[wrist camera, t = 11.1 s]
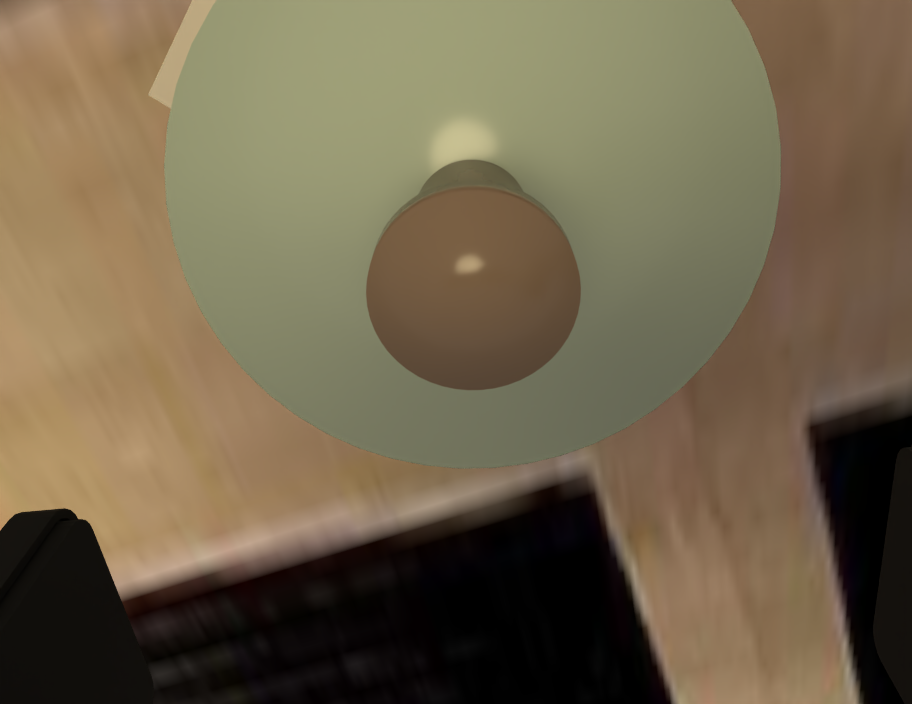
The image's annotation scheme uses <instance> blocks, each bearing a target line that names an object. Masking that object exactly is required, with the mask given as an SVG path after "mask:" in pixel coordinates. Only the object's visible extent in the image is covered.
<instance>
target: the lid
mask: <svg viewBox="0 0 912 704" xmlns="http://www.w3.org/2000/svg"><path fill="white" fill-rule="evenodd" d="M164 169H165V187H166V205H167V210H168V215H169V221H170V226H171V231H172V236H173V242H174V245H175V248H176V251H177V254H178V257H179V260H180V263H181V266H182V269H183V272H184V275H185V278H186V281H187V283H188V285H189V287H190V289H191V291H192V293H193V295H194V297H195V299H196V302H197V304H198V306H199V308H200V310H201V312H202V314H203V315H204V317H205V318H206V320H207V321H208V323H209V325H210V326H211V328H212V329H213V331H214V332H215V334H216V336H217V337H218V339H219V340H220V342H221V343H222V345H223V346H224V347H225V348H226V349H227V351H228V352H229V353H230V354H231V355H232V357H233V358H234V359H235V360H236V362H237V363H238V364H239V365H240V366H241V368H242V369H243V370H244V371H245V372H246V373H247V374H248V375H249V376H250V377H251V378H252V379H253V380H254V381H255V382H256V383H257V384H259V385H260V386H261V387H262V388H263V389H264V390H265V391H266V392H267V393H268V394H269V395H270V396H271V397H273V398H274V399H275V400H277V401H278V402H279V403H281V404H282V405H283V406H285V407H286V408H287V409H289V410H290V411H291V412H293V413H294V414H295V415H297V416H298V417H300V418H301V419H303V420H305V421H306V422H308V423H310V424H312V425H313V426H315V427H317V428H318V429H320V430H322V431H323V432H325V433H327V434H329V435H331V436H333V437H335V438H338V439H340V440H342V441H344V442H347V443H349V444H351V445H353V446H356V447H358V448H360V449H364V450H367V451H370V452H373V453H376V454H379V455H382V456H385V457H388V458H392V459H396V460H401V461H406V462H411V463H416V464H421V465H427V466H438V467H449V468H497V467H504V466H512V465H520V464H528V463H532V462H536V461H540V460H545V459H549V458H553V457H557V456H561V455H564V454H567V453H570V452H572V451H575V450H578V449H581V448H583V447H586V446H589V445H592V444H594V443H596V442H598V441H600V440H603V439H605V438H607V437H609V436H611V435H613V434H615V433H617V432H619V431H621V430H623V429H625V428H627V427H628V426H630V425H631V424H633V423H634V422H636V421H638V420H639V419H641V418H642V417H644V416H645V415H647V414H649V413H650V412H652V411H653V410H655V409H656V408H657V407H658V406H660V405H661V404H662V403H663V402H665V401H666V400H667V399H668V398H670V397H671V396H672V395H673V394H674V393H676V392H677V391H678V390H679V389H681V388H682V387H683V386H684V385H685V384H686V383H687V382H688V381H689V380H690V379H691V378H692V377H693V376H694V375H695V374H696V373H697V372H698V371H699V370H700V369H701V367H702V366H703V365H704V364H705V363H706V362H707V361H708V360H709V359H710V357H711V356H712V355H713V354H714V352H715V351H716V350H717V348H718V347H719V346H720V344H721V343H722V342H723V341H724V339H725V338H726V337H727V335H728V334H729V333H730V331H731V329H732V328H733V326H734V324H735V323H736V321H737V319H738V318H739V316H740V314H741V312H742V311H743V309H744V307H745V306H746V304H747V302H748V301H749V298H750V296H751V294H752V292H753V289H754V287H755V285H756V282H757V280H758V278H759V275H760V273H761V271H762V268H763V266H764V263H765V260H766V256H767V253H768V249H769V246H770V242H771V239H772V235H773V232H774V228H775V222H776V215H777V208H778V202H779V195H780V182H781V145H780V137H779V129H778V121H777V113H776V107H775V103H774V99H773V95H772V92H771V88H770V84H769V81H768V77H767V73H766V69H765V67H764V64H763V62H762V60H761V57H760V55H759V53H758V50H757V48H756V46H755V43H754V41H753V39H752V36H751V34H750V32H749V29H748V27H747V26H746V24H745V23H744V21H743V19H742V18H741V16H740V14H739V13H738V11H737V10H736V8H735V6H734V5H733V3H732V1H731V0H217V1H216V2H215V3H214V5H213V6H212V8H211V9H210V11H209V13H208V15H207V17H206V19H205V20H204V22H203V24H202V26H201V28H200V30H199V31H198V33H197V35H196V37H195V39H194V40H193V42H192V44H191V47H190V49H189V52H188V55H187V57H186V60H185V63H184V65H183V68H182V71H181V73H180V76H179V79H178V81H177V84H176V88H175V93H174V97H173V102H172V107H171V111H170V116H169V120H168V125H167V137H166V149H165V162H164Z"/></svg>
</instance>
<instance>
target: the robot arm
mask: <svg viewBox="0 0 912 704" xmlns="http://www.w3.org/2000/svg"><path fill="white" fill-rule="evenodd" d="M873 634H874V641H875V646H876V649H877V652H878V655H879V657H880V659H881V662H882V663H883V665H884V667H885V669H886V671H887V673H888V674H889V676H890V678H891V680H892V682H893V683H894V685H895V687H896V689H897V691H898V692H899V694H900V696H901V698H902V700H903V701H904V703H905V704H912V446H911V447H907V448H903V449H901V450H900V451H899V453H898V455H897V459H896V465H895V473H894V480H893V487H892V494H891V501H890V509H889V516H888V523H887V530H886V537H885V545H884V552H883V559H882V566H881V573H880V581H879V588H878V595H877V602H876V609H875V617H874V624H873ZM153 694H154V688H153V681H152V677H151V674H150V672H149V669H148V667H147V664H146V662H145V659H144V657H143V654H142V652H141V649H140V647H139V644H138V642H137V639H136V637H135V634H134V632H133V629H132V626H131V624H130V621H129V619H128V616H127V614H126V611H125V609H124V606H123V604H122V601H121V599H120V596H119V594H118V591H117V589H116V586H115V584H114V581H113V579H112V576H111V574H110V571H109V569H108V566H107V564H106V561H105V559H104V556H103V554H102V551H101V549H100V546H99V544H98V541H97V539H96V536H95V534H94V531H93V529H92V527H91V525H90V524H89V523H88V522H87V521H86V520H82V519H79V520H78V518H77V516H76V514H74V513H73V512H72V511H71V510H68V509H53V510H42V511H31V512H21V513H18V514H15V515H14V516H13V517H12V518H11V519H10V520H9V521H8V522H7V523H6V524H5V526H4V527H3V528H2V529H1V531H0V704H152V702H153Z"/></svg>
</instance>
